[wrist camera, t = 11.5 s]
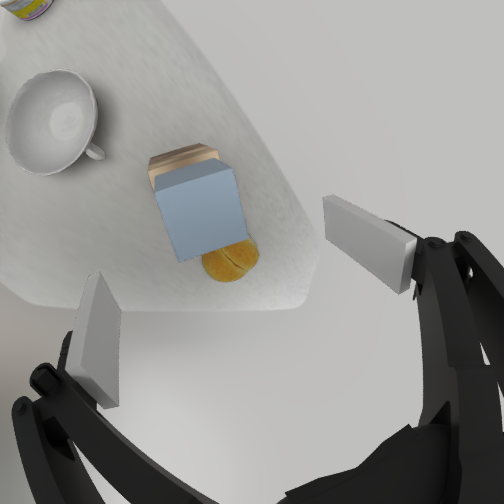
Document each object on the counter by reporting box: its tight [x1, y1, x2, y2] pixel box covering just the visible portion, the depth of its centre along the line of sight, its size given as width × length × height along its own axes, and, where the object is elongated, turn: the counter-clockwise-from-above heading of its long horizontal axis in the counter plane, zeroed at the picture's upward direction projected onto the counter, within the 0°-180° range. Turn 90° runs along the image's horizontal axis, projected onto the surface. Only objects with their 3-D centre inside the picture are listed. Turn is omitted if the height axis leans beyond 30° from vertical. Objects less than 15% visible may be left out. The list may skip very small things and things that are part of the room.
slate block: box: [154, 158, 249, 262], centre depth 24 cm, size 6×6×7 cm
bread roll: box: [202, 234, 259, 282], centre depth 43 cm, size 8×9×4 cm
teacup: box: [6, 69, 106, 176], centre depth 25 cm, size 15×12×8 cm
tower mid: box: [148, 146, 220, 230], centre depth 29 cm, size 7×7×6 cm
